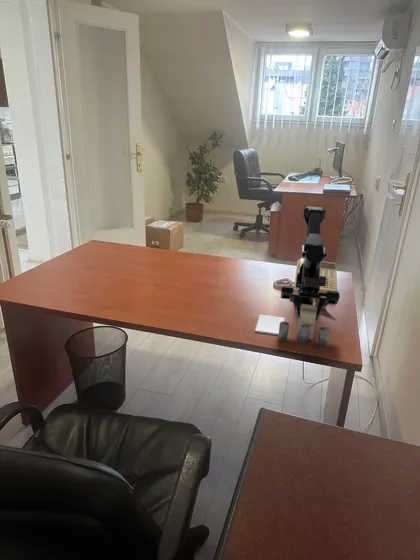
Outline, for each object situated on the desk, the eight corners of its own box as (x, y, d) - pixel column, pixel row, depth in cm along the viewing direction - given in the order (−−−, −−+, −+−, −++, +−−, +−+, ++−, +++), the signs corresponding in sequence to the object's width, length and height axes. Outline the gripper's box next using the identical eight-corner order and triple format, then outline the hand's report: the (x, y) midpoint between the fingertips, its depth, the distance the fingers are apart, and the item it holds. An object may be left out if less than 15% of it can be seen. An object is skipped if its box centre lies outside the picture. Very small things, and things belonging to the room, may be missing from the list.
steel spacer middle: (298, 339, 131) (300, 323, 128) (307, 341, 130) (309, 325, 128) (297, 344, 128) (300, 328, 126) (307, 346, 127) (309, 329, 125)
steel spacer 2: (317, 342, 130) (319, 326, 127) (326, 344, 129) (329, 327, 127) (317, 347, 127) (319, 331, 124) (326, 348, 126) (329, 332, 124)
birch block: (297, 330, 137) (301, 303, 133) (312, 332, 136) (316, 306, 132) (297, 337, 132) (300, 310, 128) (312, 339, 131) (316, 312, 127)
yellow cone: (317, 304, 156) (339, 293, 150) (318, 315, 153) (340, 304, 147) (308, 298, 154) (330, 286, 148) (309, 309, 151) (331, 297, 145)
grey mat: (259, 315, 146) (259, 314, 145) (284, 319, 144) (284, 317, 143) (255, 331, 135) (255, 330, 135) (281, 335, 133) (281, 334, 133)
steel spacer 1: (278, 336, 132) (280, 321, 130) (287, 338, 132) (289, 322, 129) (277, 341, 130) (279, 325, 127) (286, 342, 129) (288, 326, 127)
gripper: (284, 263, 130) (279, 308, 124) (343, 268, 127) (341, 315, 121) (283, 276, 140) (278, 318, 135) (337, 282, 137) (335, 325, 131)
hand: (307, 319), depth 130 cm, fingers closed on birch block, 5 cm apart
